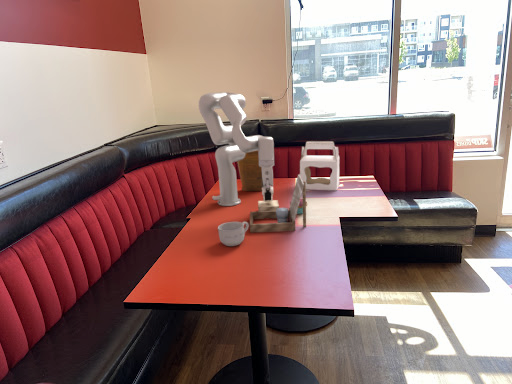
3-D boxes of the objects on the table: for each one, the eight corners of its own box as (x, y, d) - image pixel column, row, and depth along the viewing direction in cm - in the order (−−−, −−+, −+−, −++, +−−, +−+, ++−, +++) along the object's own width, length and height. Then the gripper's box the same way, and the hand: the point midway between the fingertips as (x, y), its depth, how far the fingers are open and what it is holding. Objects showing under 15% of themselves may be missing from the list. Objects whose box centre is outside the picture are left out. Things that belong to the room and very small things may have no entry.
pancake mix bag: (269, 191, 231) (267, 145, 223) (238, 192, 234) (235, 146, 226) (270, 188, 237) (269, 143, 229) (240, 189, 240) (237, 144, 232)
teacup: (225, 251, 153) (223, 232, 151) (215, 241, 162) (213, 224, 160) (256, 243, 159) (255, 224, 157) (244, 234, 168) (243, 217, 166)
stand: (258, 216, 189) (258, 207, 188) (258, 210, 199) (258, 201, 197) (279, 215, 189) (278, 206, 188) (277, 209, 199) (277, 200, 197)
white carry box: (299, 189, 233) (299, 143, 226) (304, 183, 245) (303, 139, 238) (337, 190, 227) (337, 143, 219) (339, 184, 239) (340, 139, 231)
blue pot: (276, 225, 177) (276, 211, 175) (276, 221, 182) (275, 208, 180) (289, 224, 177) (288, 211, 175) (288, 220, 182) (287, 207, 180)
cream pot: (262, 202, 190) (262, 189, 188) (262, 199, 195) (261, 186, 193) (273, 201, 190) (273, 188, 188) (273, 198, 195) (272, 185, 193)
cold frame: (250, 232, 170) (247, 186, 164) (250, 218, 187) (248, 176, 182) (307, 229, 170) (306, 183, 164) (302, 216, 187) (301, 174, 181)
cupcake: (306, 215, 188) (306, 191, 185) (289, 215, 190) (288, 191, 186) (307, 209, 196) (307, 186, 193) (291, 209, 198) (290, 186, 194)
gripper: (275, 166, 179) (276, 203, 184) (273, 158, 195) (274, 193, 200) (258, 166, 179) (260, 203, 184) (258, 159, 195) (260, 193, 200)
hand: (267, 197), depth 192 cm, fingers closed on cream pot, 5 cm apart
